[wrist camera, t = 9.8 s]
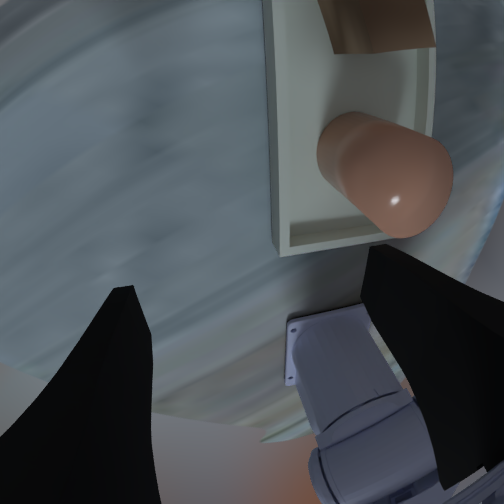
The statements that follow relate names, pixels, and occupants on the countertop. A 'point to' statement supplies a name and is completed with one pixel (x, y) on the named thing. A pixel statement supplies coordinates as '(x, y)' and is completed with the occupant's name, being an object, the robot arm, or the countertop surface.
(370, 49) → the walnut block
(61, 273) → the countertop surface
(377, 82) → the tray
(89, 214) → the countertop surface
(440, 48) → the countertop surface
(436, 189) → the brown rounded cylinder
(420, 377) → the robot arm
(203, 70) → the countertop surface
